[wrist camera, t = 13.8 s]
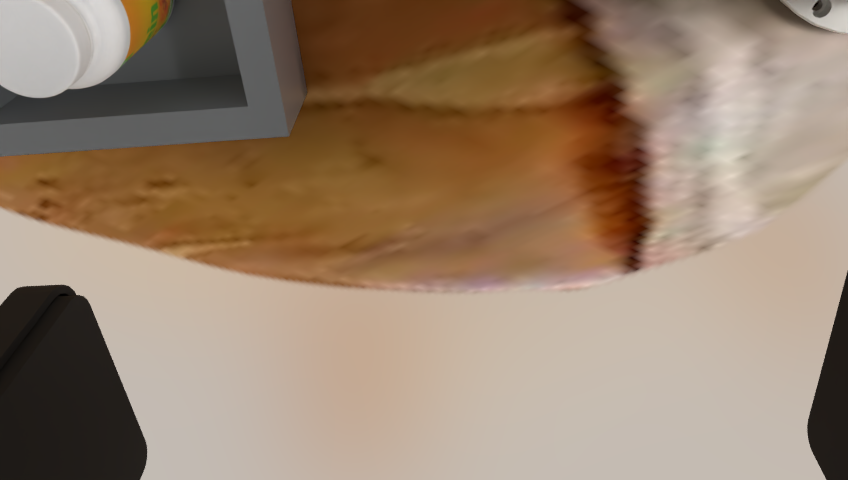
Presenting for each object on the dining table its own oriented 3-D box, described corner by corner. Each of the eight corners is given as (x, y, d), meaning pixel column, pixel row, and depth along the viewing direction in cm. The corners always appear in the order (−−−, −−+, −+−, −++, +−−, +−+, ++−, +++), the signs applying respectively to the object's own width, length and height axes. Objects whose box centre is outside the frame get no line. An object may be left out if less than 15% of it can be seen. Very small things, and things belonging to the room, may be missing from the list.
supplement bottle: (145, 60, 37) (62, 143, 29) (43, -9, 36) (-75, 58, 27) (198, -27, 35) (123, 37, 27) (92, -105, 33) (-22, -62, 25)
